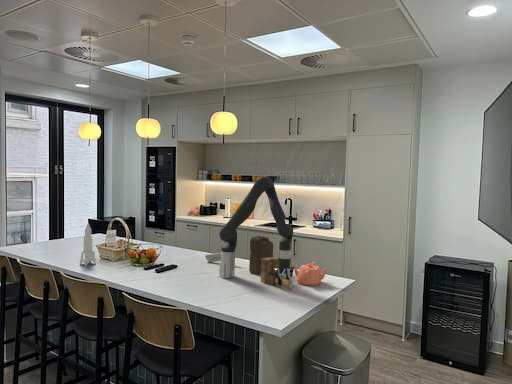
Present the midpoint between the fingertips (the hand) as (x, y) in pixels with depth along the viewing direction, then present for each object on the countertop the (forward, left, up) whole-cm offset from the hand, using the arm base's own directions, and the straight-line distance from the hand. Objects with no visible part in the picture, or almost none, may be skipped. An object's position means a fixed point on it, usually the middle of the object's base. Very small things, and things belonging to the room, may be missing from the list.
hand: (283, 284), depth 228 cm
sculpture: (-92, +109, -2) cm, 143 cm away
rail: (0, +2, -2) cm, 3 cm away
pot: (+21, 0, -2) cm, 21 cm away
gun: (-7, +68, -2) cm, 68 cm away
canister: (+8, +36, -2) cm, 37 cm away
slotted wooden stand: (0, +11, -2) cm, 11 cm away
